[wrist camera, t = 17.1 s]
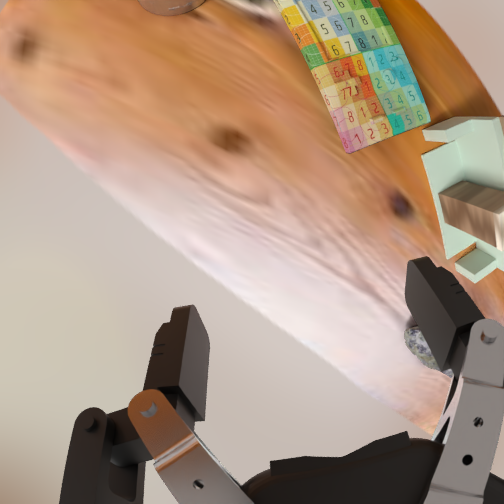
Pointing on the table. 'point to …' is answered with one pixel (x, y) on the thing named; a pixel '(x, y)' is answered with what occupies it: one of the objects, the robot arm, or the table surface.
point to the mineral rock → (422, 349)
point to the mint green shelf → (471, 170)
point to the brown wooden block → (475, 211)
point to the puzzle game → (357, 68)
